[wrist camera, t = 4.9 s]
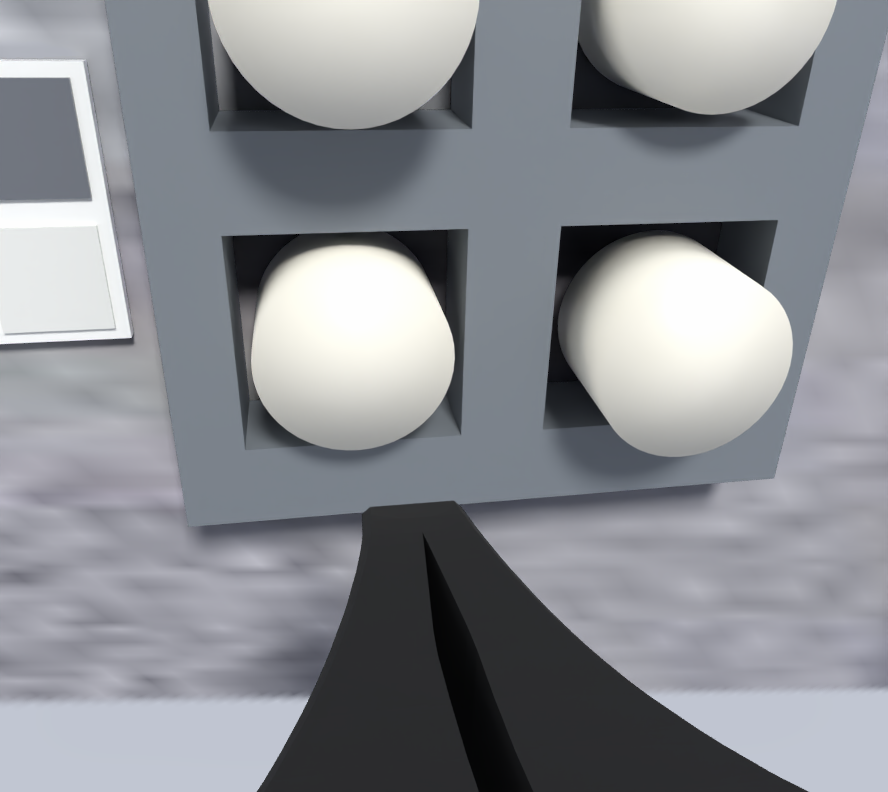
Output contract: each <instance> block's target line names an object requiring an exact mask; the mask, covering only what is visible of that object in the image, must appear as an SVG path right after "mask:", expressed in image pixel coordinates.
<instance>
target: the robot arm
mask: <svg viewBox="0 0 888 792" xmlns="http://www.w3.org/2000/svg"><path fill="white" fill-rule="evenodd" d="M362 531H363V537H362V545H361V551H360V556H359V561H358V566H357V571H356V574H355V578H354V582H353V585H352V589H351V592H350V596H349V599H348V603H347V606H346V609H345V612H344V615H343V618H342V621H341V623H340V626H339V629H338V632H337V634H336V637H335V640H334V642H333V645H332V648H331V650H330V653H329V656H328V658H327V660H326V663H325V665H324V667H323V670H322V672H321V674H320V677H319V679H318V681H317V683H316V685H315V688H314V690H313V692H312V694H311V696H310V698H309V700H308V702H307V704H306V706H305V708H304V710H303V713H302V714H301V716H300V718H299V720H298V722H297V724H296V726H295V727H294V729H293V731H292V733H291V735H290V737H289V738H288V740H287V742H286V744H285V746H284V748H283V750H282V751H281V753H280V755H279V757H278V758H277V760H276V762H275V764H274V765H273V767H272V768H271V770H270V772H269V773H268V775H267V777H266V778H265V780H264V782H263V783H262V785H261V786H260V788H259V789H258V791H257V792H808V791H806V790H804V789H802V788H800V787H798V786H796V785H794V784H792V783H790V782H788V781H786V780H784V779H782V778H780V777H778V776H777V775H775V774H773V773H771V772H769V771H767V770H766V769H764V768H762V767H760V766H758V765H757V764H755V763H754V762H752V761H750V760H748V759H747V758H745V757H743V756H741V755H739V754H738V753H736V752H735V751H733V750H731V749H729V748H728V747H726V746H724V745H722V744H721V743H719V742H718V741H716V740H714V739H713V738H711V737H710V736H708V735H707V734H705V733H703V732H702V731H700V730H698V729H697V728H696V727H694V726H693V725H691V724H690V723H688V722H687V721H685V720H684V719H682V718H681V717H679V716H678V715H676V714H675V713H674V712H672V711H671V710H669V709H668V708H666V707H665V706H663V705H662V704H660V703H659V702H657V701H656V700H654V699H653V698H651V697H650V696H649V695H647V694H646V693H645V692H643V691H642V690H640V689H639V688H638V687H636V686H635V685H634V684H632V683H631V682H630V681H629V680H627V679H626V678H625V677H623V676H622V675H621V674H620V673H619V672H617V671H616V670H615V669H614V668H612V667H611V666H610V665H609V664H608V663H606V662H605V661H604V660H603V659H601V658H600V657H599V656H598V655H597V654H596V653H595V652H593V651H592V650H591V649H590V648H589V647H588V646H587V645H585V644H584V643H583V642H582V641H581V640H580V639H579V638H578V637H577V636H576V635H574V634H573V633H572V632H571V631H570V630H569V629H568V628H567V627H566V626H565V625H564V624H563V623H562V622H561V621H560V620H559V619H558V618H557V617H556V616H555V615H554V614H553V613H552V612H551V611H550V610H549V609H548V608H547V607H546V606H545V605H544V604H543V603H542V602H541V601H540V600H539V599H538V598H537V597H536V596H535V595H534V594H533V593H532V592H531V591H530V590H529V588H528V587H527V586H526V585H525V584H524V583H523V582H522V581H521V580H520V579H519V578H518V576H517V575H516V574H515V573H514V572H513V571H512V570H511V569H510V568H509V566H508V565H507V564H506V563H505V562H504V561H503V560H502V558H501V557H500V556H499V555H498V554H497V552H496V551H495V550H494V549H493V548H492V546H491V545H490V544H489V543H488V541H487V540H486V539H485V538H484V536H483V535H482V534H481V533H480V531H479V530H478V529H477V528H476V526H475V525H474V524H473V522H472V521H471V520H470V518H469V517H468V516H467V514H466V513H465V512H464V510H463V509H462V507H461V506H460V505H459V504H457V503H456V502H455V501H454V500H453V501H440V502H427V503H414V504H401V505H388V506H376V507H369V508H368V509H367V510H366V511H365V512H364V513H363V514H362Z"/></svg>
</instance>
